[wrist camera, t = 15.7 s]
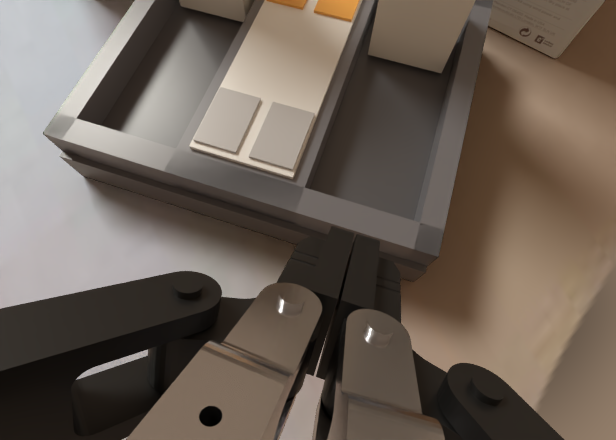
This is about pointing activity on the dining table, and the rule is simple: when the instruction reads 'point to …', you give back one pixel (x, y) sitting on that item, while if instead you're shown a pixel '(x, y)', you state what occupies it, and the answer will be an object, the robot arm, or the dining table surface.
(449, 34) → the cream tall block
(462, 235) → the dining table surface
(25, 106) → the dining table surface
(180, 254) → the dining table surface
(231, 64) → the grey tray
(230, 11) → the tab far
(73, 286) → the dining table surface
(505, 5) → the supplement box
